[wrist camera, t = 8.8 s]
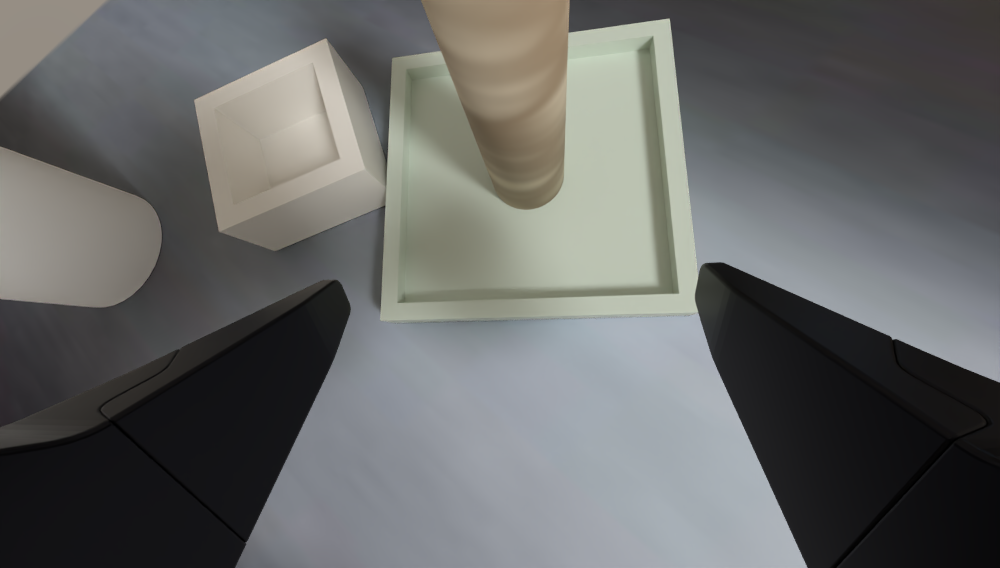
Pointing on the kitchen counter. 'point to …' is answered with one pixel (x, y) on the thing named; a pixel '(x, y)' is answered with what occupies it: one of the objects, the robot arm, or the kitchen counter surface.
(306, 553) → the kitchen counter surface
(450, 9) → the dowel
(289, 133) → the holder
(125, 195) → the cylindrical container
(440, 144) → the tray
